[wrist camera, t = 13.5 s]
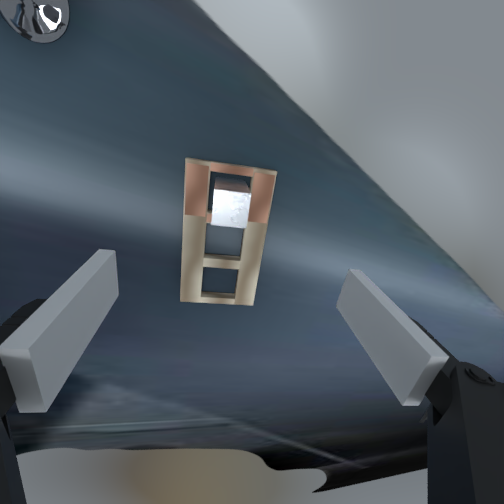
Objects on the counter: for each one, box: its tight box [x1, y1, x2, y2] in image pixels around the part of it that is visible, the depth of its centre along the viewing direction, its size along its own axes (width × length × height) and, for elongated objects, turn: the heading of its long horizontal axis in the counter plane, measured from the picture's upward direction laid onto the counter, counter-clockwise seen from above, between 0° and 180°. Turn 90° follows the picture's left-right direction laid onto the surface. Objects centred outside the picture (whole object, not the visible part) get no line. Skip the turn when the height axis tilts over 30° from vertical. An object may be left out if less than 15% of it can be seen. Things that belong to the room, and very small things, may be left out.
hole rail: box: [180, 158, 277, 305], centre depth 38 cm, size 12×22×2 cm, turn 172°
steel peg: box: [211, 176, 251, 228], centre depth 32 cm, size 4×4×9 cm
